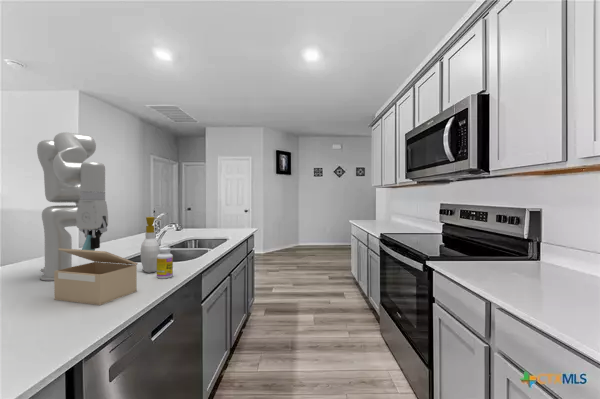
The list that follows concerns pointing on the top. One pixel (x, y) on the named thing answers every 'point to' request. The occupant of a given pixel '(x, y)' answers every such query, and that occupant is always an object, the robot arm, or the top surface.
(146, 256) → the soap bottle
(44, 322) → the top surface
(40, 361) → the top surface
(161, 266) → the supplement bottle
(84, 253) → the lid
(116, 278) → the carton
